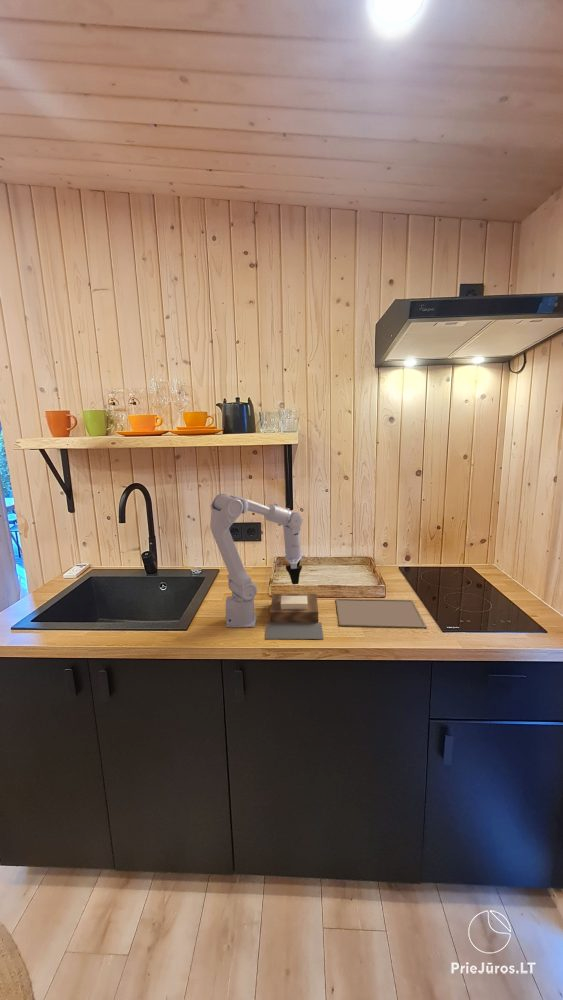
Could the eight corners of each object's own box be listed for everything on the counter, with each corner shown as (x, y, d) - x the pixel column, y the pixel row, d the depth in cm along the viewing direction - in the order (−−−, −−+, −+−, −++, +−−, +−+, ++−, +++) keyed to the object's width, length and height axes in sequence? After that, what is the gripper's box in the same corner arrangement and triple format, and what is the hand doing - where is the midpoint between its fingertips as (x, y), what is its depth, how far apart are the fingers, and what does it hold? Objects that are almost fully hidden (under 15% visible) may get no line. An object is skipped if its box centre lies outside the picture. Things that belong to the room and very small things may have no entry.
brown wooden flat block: (270, 623, 135) (270, 612, 134) (272, 603, 149) (272, 593, 148) (318, 623, 134) (318, 612, 133) (316, 603, 148) (316, 593, 147)
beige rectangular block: (280, 609, 136) (280, 603, 135) (281, 601, 142) (281, 595, 141) (307, 609, 136) (307, 603, 135) (307, 601, 141) (307, 595, 141)
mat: (265, 639, 125) (265, 638, 125) (267, 623, 135) (267, 622, 135) (323, 639, 124) (323, 638, 124) (321, 623, 134) (321, 622, 134)
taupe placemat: (339, 627, 132) (426, 629, 130) (339, 624, 132) (426, 626, 130) (335, 601, 151) (412, 602, 149) (335, 598, 151) (412, 599, 148)
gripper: (304, 550, 135) (306, 587, 138) (303, 536, 149) (306, 570, 153) (283, 551, 136) (286, 588, 139) (284, 537, 150) (287, 571, 153)
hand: (295, 579), depth 146 cm, fingers open, 7 cm apart
